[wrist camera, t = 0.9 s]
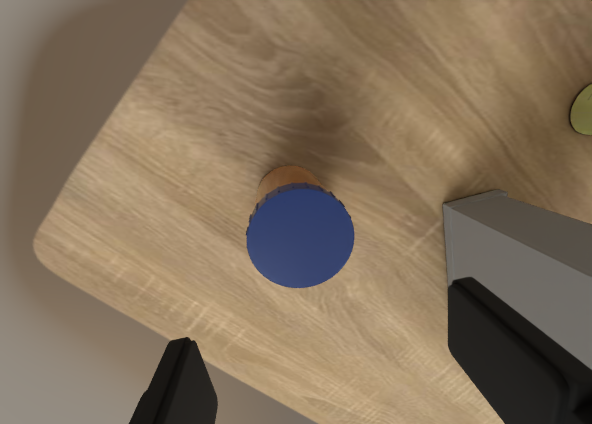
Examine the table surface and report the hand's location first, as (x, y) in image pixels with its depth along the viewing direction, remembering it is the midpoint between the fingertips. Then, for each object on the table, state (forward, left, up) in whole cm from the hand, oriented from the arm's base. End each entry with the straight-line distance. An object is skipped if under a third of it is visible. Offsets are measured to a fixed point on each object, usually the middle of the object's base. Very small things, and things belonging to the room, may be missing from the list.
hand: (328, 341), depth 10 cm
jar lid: (0, 0, -9) cm, 9 cm away
